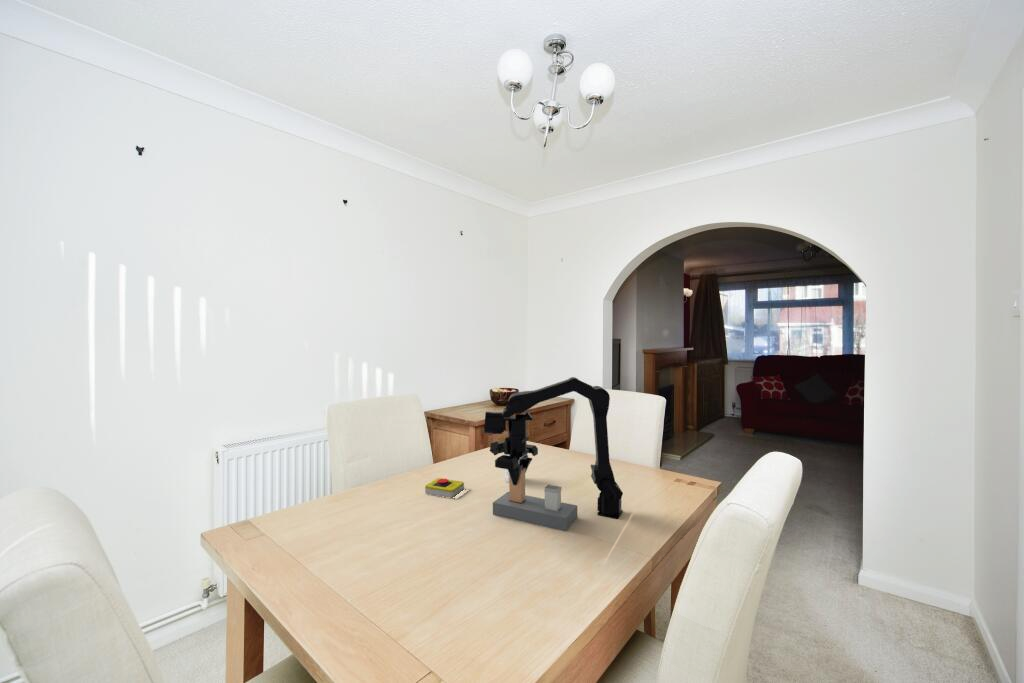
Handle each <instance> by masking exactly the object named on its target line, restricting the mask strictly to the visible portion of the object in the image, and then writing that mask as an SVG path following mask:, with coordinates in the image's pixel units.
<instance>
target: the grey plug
mask: <svg viewBox="0 0 1024 683" xmlns="http://www.w3.org/2000/svg"><path fill="white" fill-rule="evenodd" d="M544 499H545V509H549V510H553V511H559V510H560V509H561V502H562V486H559V485H554V484H547V485H546V486H545V487H544Z"/></svg>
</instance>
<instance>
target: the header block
mask: <svg viewBox="0 0 1024 683" xmlns="http://www.w3.org/2000/svg"><path fill="white" fill-rule="evenodd" d="M492 516H496V517H501V518H506V519H509V520H514V521H518V522H522V523H528V524H530V525H531V524H532V525H537V526H541V527H545V528H548V529H549V528H550V529H552V530H553V529H554V530H557V531H561V530H562V531H563V532H567V531H568V530H569V529H570V527H571V526H572V525H573V524H574V523H575V522H576V521H577V519H578V504H572V503H567V502H562V501H561V509H560V510H559V511H553V510H549V509H545V498H543V497H542V498H541V497H537V496H532V495H527V494H525V500H524V501H523V502H522V503H519V502H514V501H509V491H507V492H506V493H504V494H502V495H501V496H500V497H498V498H497V499H496V500H493V502H492Z"/></svg>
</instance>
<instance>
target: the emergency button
mask: <svg viewBox="0 0 1024 683" xmlns="http://www.w3.org/2000/svg"><path fill="white" fill-rule="evenodd" d="M464 489H465V482H464V481H459V480H454V479H448V478H441V477H437V478H435V479H433V480H432V481H430V482H428V483H427V484H425V486H424V490H425V493H427V494H426V495H429V494H433V495H432V496H435V495H439V496H438V497H440V496H444V497H443V498H446V497H450V498H449V499H452V498H453V497H455V496H456V495H457V494H459V493H460V492H461V491H463V490H464Z"/></svg>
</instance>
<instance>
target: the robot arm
mask: <svg viewBox="0 0 1024 683" xmlns="http://www.w3.org/2000/svg"><path fill="white" fill-rule="evenodd" d="M572 392H575V393H577V394H579V395H581V396H583V398H586V399H588V404H589V407H590V410H591V414H592V418H593V433H594V444H595V445H594V447H595V462H594V464H590V469H591V475H590V477H591V480H592V481H593V483H594V485H595V486H596V488H597V489H598V490H599V491H600V493H599V495H598V497H597V511H598V512H597V516H600V517H605V518H611V519H615V520H618V519H620V517H621V515H622V513H624V510H623V509H622V497H623V494H624V493H623V491H622V489H621V488H620V486H619V484H618V483H617V481H616V480H615V479H616V478H615V475H614V471H613V469H612V465H611V462H610V453H609V452H610V450H609V448H610V447H609V434H608V432H609V431H608V421H607V420H608V419H607V416H608V412H609V409H610V401H611V398H610V394H609V392H608V391H607V390H606V389H605V388H603V387H602V386H599V385H591V384H588V383H586V382H584V381H582V380H580V379H578V378H577V377H573V376H571V377H569V378H568V379H565V380H561V381H560V382H559V381H558V382H556V383H553V384H550V385H547V386H543V387H541V388H538V389H535V390H525V391H518V392H517V391H516V392H513V393H512V394H510V396H509V398H508V401H507V405H506V407H504V408H503V410H502V411H485V412H484V414H485V415H484V424H483V429H484V430H483V432H484V434H485V435H503V433H504V431H505V432H506V431H508V432H507V433H508V434H507V436H506V437H505V438H504V440H502V441H494V442H490V445H489V452H490V453H491V454H493V456H497V455H498V454H502V455H500V456H498V457H497V458H495V460H494V467H495V468H498V469H503V470H504V469H508V471H509V473H510V476H511V479H512V483H513V485H517V483H518V480H519V476H520V473H521V470H522V468H526V471H525V474H526V473H527V471H528V468H529V466H530V464H531V462H532V460H533V458H532V457H529V455H528V454H531V455H532V456H533V457H535V456H537V455H539V448H538V447H537V445H534V444H527V441H529V440H530V436H529V435H527V422H528V421H533V416H532V415H531V414H530V413H529V411H528V410H530V409H531V408H533V407H534V406H536V405H538V404H539V403H543V402H545V401H548V400H551V399H554V398H558V397H560V396H564V395H566V394H567V395H568V394H569V393H572ZM514 415H515V416H514ZM507 423H508V424H507ZM507 428H508V429H507ZM504 454H506V455H508V454H509V455H510V456H506V455H504Z"/></svg>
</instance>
